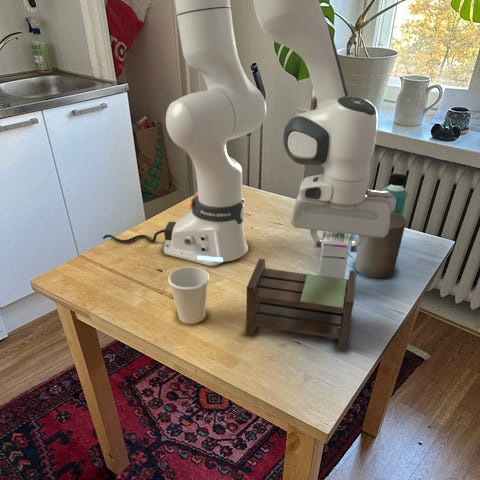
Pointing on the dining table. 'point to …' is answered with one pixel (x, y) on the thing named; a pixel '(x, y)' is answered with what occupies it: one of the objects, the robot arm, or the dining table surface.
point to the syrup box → (334, 254)
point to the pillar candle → (381, 250)
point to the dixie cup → (189, 293)
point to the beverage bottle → (397, 190)
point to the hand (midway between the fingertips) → (335, 249)
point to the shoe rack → (300, 302)
